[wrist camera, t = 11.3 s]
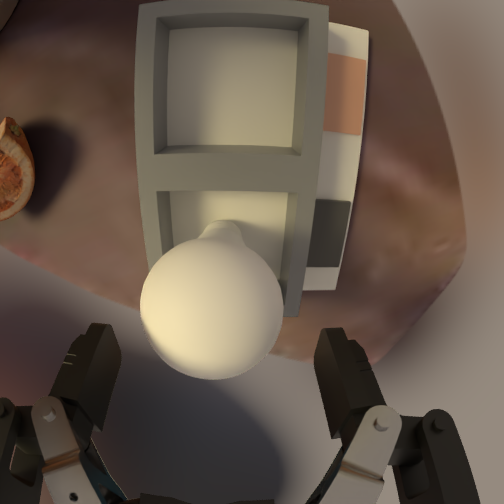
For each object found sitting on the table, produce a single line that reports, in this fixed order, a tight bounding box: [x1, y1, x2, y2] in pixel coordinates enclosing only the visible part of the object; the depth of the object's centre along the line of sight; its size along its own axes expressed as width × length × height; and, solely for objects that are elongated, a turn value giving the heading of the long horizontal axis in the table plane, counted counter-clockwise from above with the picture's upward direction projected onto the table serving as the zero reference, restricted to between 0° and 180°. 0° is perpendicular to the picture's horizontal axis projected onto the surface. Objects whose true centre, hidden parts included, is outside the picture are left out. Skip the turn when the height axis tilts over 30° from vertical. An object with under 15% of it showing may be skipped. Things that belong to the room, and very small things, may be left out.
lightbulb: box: [140, 220, 284, 380], centre depth 14 cm, size 6×6×11 cm
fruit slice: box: [0, 117, 35, 221], centre depth 14 cm, size 8×7×5 cm
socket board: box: [134, 0, 369, 317], centre depth 16 cm, size 13×19×4 cm
